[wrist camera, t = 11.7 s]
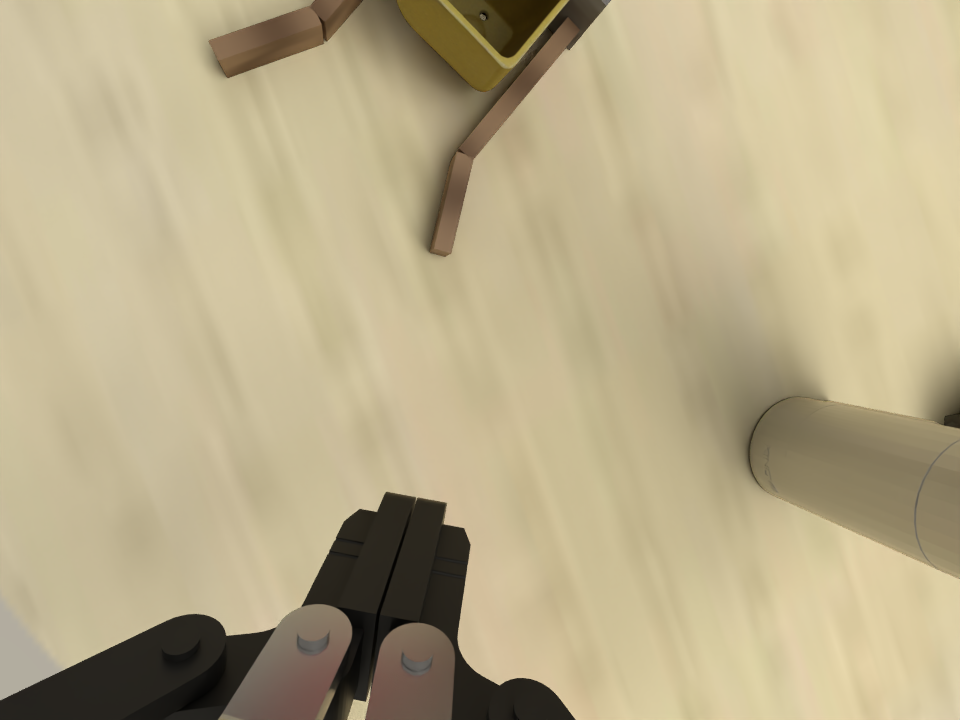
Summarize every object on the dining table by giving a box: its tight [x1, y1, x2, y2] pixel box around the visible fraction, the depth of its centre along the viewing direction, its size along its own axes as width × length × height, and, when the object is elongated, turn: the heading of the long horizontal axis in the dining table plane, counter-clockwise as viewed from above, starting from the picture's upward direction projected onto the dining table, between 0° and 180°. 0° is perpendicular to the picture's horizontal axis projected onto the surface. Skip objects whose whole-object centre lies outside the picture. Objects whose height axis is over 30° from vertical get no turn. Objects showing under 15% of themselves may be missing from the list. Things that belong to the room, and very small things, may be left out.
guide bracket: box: [209, 0, 611, 256], centre depth 34 cm, size 20×19×6 cm
